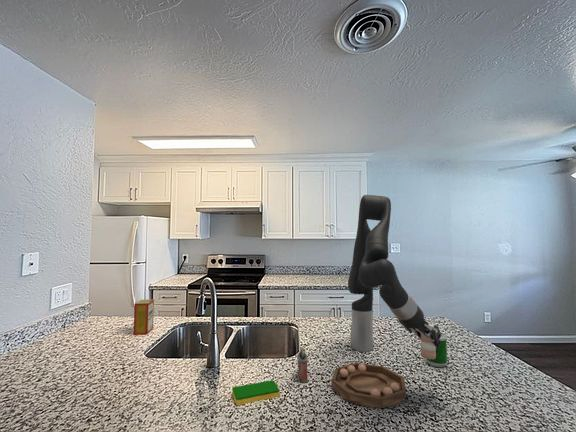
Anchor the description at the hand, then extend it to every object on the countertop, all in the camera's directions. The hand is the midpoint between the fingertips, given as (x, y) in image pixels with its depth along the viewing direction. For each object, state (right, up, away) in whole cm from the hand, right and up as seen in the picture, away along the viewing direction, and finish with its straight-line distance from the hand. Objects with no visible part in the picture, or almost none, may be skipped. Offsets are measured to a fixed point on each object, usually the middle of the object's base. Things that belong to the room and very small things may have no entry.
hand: (431, 342), depth 98 cm
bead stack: (-2, -4, -1) cm, 4 cm away
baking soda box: (-122, -19, +58) cm, 137 cm away
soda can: (+12, -18, +21) cm, 29 cm away
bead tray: (-20, -16, +2) cm, 26 cm away
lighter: (-42, -17, +9) cm, 46 cm away
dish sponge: (-57, -16, -3) cm, 60 cm away
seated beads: (-20, -16, +2) cm, 26 cm away
